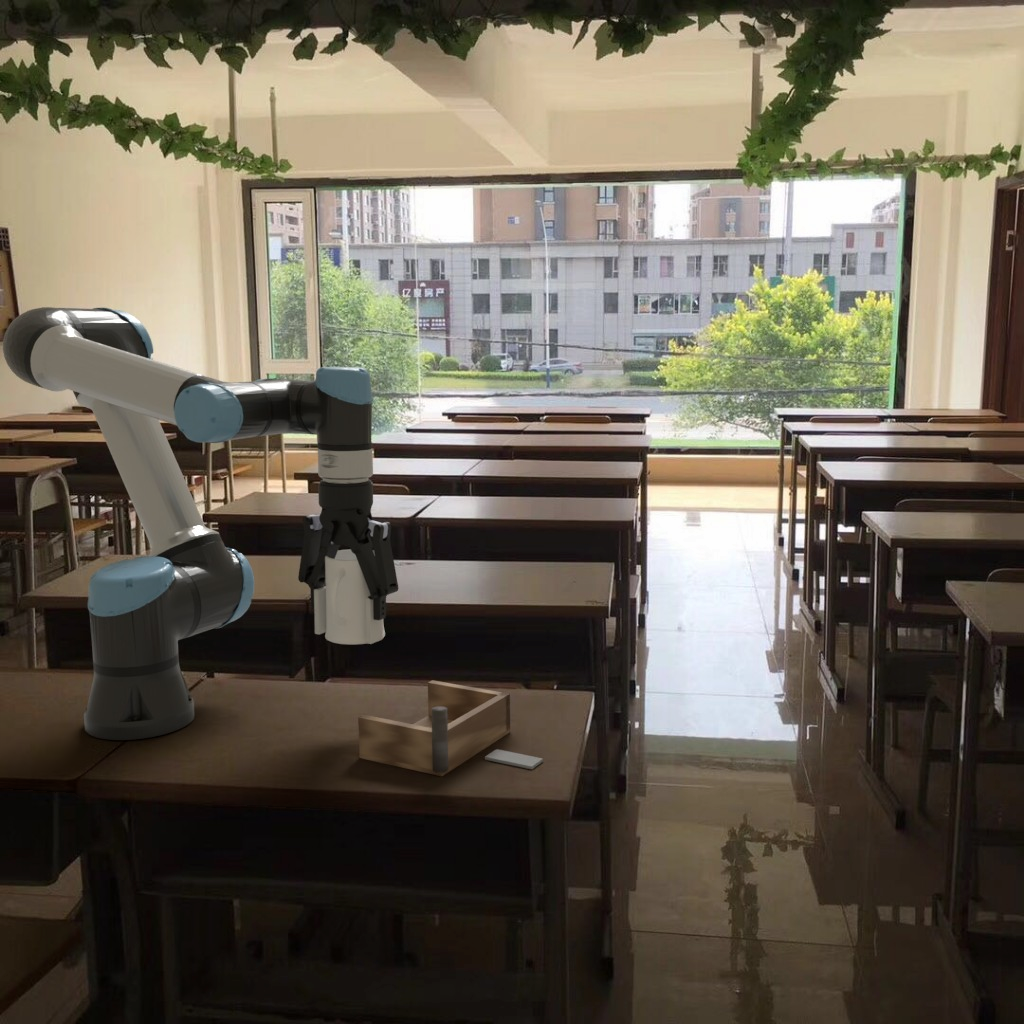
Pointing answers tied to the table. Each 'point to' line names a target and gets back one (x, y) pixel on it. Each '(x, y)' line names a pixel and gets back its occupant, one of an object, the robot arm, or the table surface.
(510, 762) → the grey rectangular slab
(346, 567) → the mug
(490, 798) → the table surface
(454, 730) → the keeper cradle
